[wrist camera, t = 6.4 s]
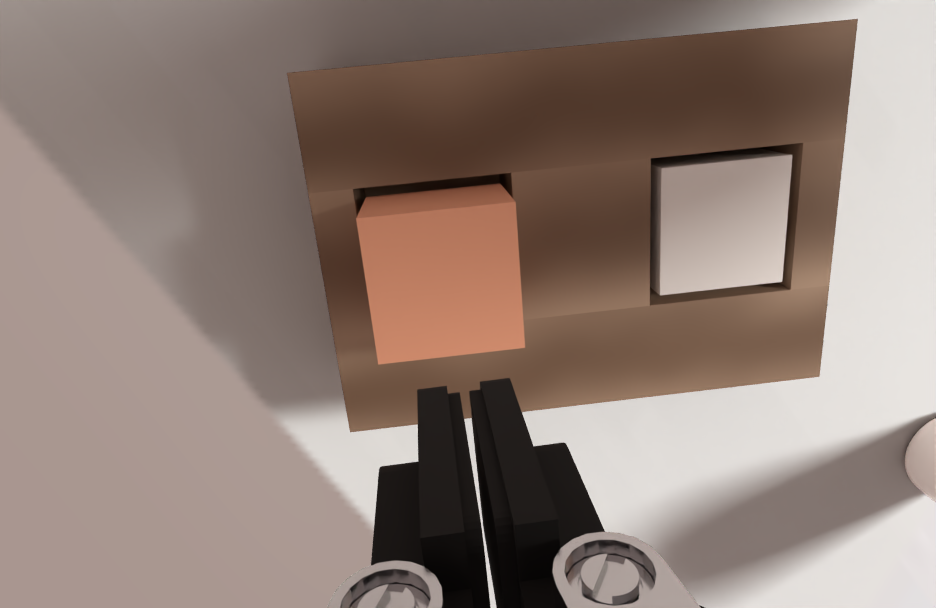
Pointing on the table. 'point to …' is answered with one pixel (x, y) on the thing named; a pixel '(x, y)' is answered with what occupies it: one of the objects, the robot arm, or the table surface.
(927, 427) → the drinking glass
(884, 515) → the table surface
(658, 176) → the white plug
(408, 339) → the terracotta plug
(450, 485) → the robot arm
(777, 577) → the table surface
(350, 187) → the walnut block
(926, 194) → the table surface
